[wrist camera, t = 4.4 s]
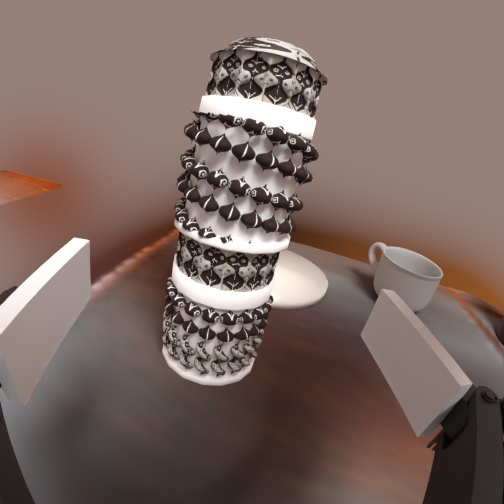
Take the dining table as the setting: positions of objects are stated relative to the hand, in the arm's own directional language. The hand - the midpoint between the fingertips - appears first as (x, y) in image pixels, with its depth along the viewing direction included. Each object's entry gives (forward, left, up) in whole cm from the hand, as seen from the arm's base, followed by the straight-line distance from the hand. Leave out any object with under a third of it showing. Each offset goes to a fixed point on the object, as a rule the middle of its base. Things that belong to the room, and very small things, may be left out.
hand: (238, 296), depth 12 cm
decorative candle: (+9, -3, -12) cm, 16 cm away
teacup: (+17, -35, -12) cm, 41 cm away
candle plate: (+25, -15, -12) cm, 32 cm away
